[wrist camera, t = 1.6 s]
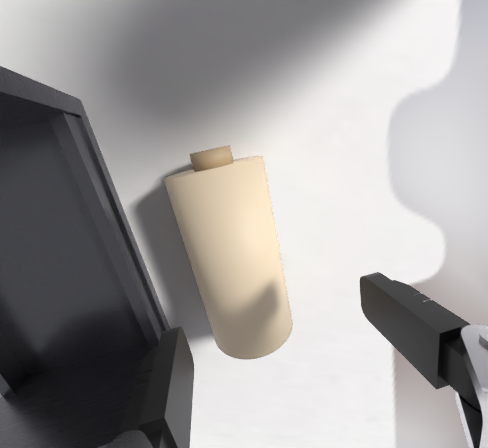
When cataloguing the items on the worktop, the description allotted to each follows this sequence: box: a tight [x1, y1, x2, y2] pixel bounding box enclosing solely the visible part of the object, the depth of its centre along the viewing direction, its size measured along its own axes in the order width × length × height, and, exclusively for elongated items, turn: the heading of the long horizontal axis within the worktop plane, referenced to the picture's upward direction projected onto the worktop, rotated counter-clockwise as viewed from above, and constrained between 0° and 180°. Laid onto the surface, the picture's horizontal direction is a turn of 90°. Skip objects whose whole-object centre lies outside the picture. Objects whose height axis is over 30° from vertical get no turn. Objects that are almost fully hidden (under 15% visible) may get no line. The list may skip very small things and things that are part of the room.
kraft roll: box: [164, 145, 293, 359], centre depth 16 cm, size 14×6×6 cm, turn 12°
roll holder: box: [0, 66, 170, 448], centre depth 13 cm, size 19×12×8 cm, turn 12°
